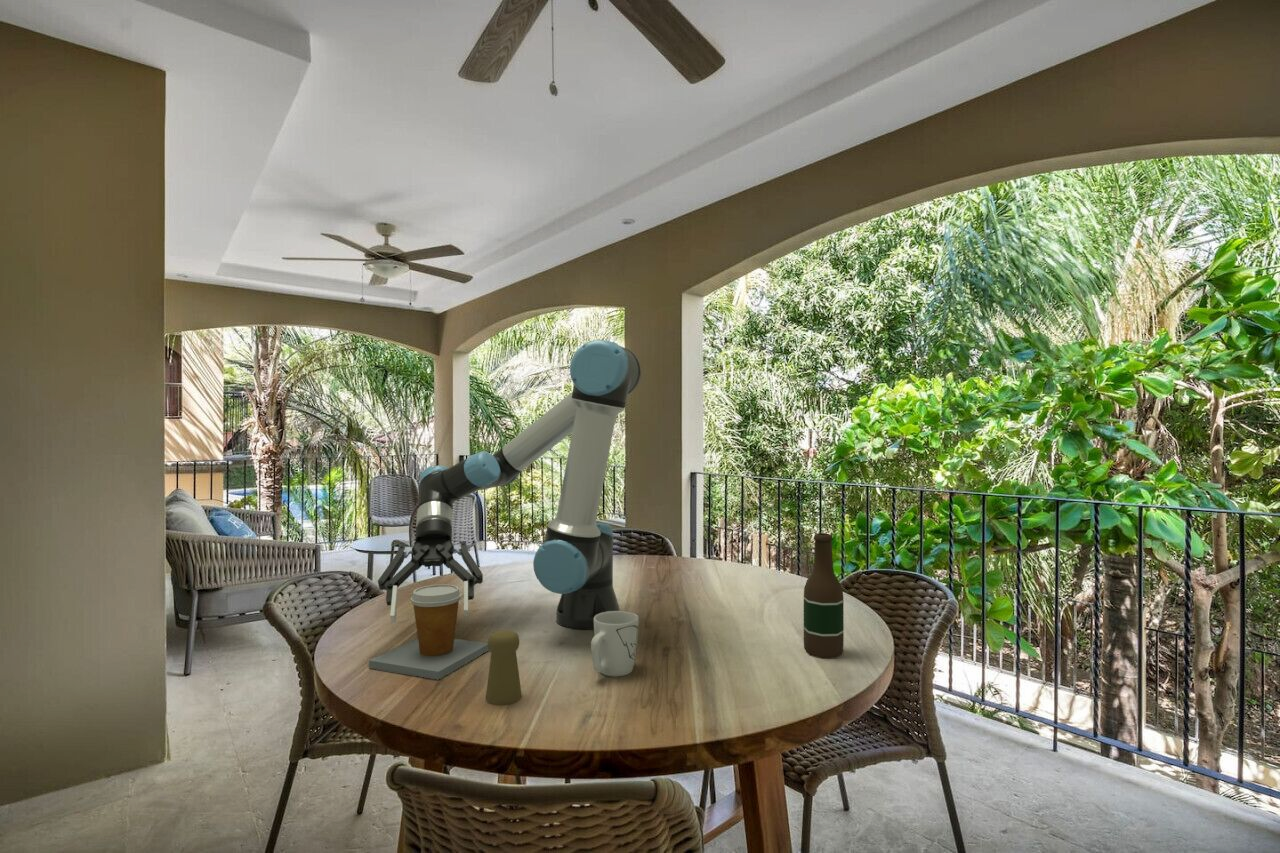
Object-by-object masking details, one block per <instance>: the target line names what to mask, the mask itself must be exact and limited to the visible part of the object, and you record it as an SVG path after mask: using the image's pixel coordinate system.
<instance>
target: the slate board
mask: <svg viewBox="0 0 1280 853" xmlns="http://www.w3.org/2000/svg"><path fill="white" fill-rule="evenodd" d="M487 651H488V652H489V651H490V650H489V648H488V642H483V641H482V642H481V641H474V640H468V639H461V638H455V637H454V645H453V650H452V651H451V652H449V653H446V654H443V655H438V656H426V655H422V654H420V650H419V642H418V637H417V638H415V639H413V640H410V641H409V642H406V643H403V644H402V645H399V646H397V647H395V648H392V649H391V650H388V651H387V652H383V653H382V654H379V655H378V656H375V657H373V658H371V659H369V660H368V669H372V670H377V671H382V672H383V671H384V672H389V673H395V674H401V675H407V676H413V677H417V676H418V677H417V678H423V677H424V678H425V679H429V678H430V680H435V679H436V681H439V679H440V680H441V679H443V678H445V677H446V675H447V676H448V675H450V674H451V673H453V672H455V671H457V670H459V669H460V668H462V667H464V666H465V664H466V663H467V664H469V663H471V662H472V661H471V660H473V659H474V660H476V659H477V657H478V656H479V657H481V656H483V655H484V654H483V653H485V652H486V653H488V652H487ZM486 653H485V654H486ZM482 654H483V655H482ZM480 655H481V656H480ZM479 657H478V658H479ZM475 658H476V659H475ZM474 660H473V661H474ZM470 661H471V662H470ZM468 662H469V663H468ZM467 664H466V665H467ZM463 665H464V666H463ZM461 666H462V667H461ZM458 668H459V669H458ZM456 669H457V670H456Z"/></svg>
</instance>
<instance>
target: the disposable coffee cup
mask: <svg viewBox="0 0 1280 853" xmlns="http://www.w3.org/2000/svg"><path fill="white" fill-rule="evenodd" d="M461 597H462V593H461V592H460V588H459V587H458V586H457V585H453V584H445V583H444V584H431V585H425V586H422V587H418V588H416V589H414V590H413V592H412V596H411V597H410V601H411V603H412V605H413V611H414V618H415V626H416V633H417V635H416V636H417V638H418V642H419V650H420V654H422V655H426V656H438V655H443V654H446V653H449V652H451V651H452V650H453V645H454V638H455V636H456V628H457V627H456V626H457V621H458V620H457V618H458V610H459V601H460V600H461Z"/></svg>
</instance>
